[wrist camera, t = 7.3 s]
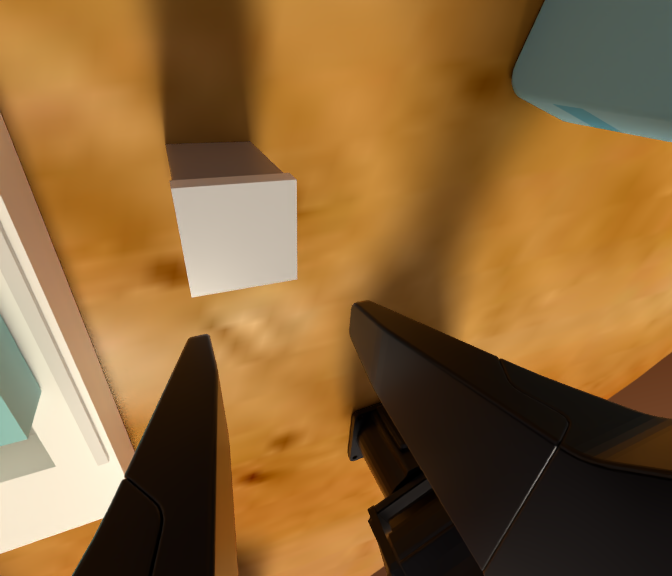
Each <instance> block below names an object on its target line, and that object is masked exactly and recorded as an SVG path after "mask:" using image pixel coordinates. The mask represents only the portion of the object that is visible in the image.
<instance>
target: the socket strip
mask: <svg viewBox="0 0 672 576" xmlns="http://www.w3.org/2000/svg"><path fill="white" fill-rule="evenodd" d="M0 315H1V317H2V318H3V320H4V322H5V324H6V326H7V328H8V330H9V331H10V333H11V335H12V337H13V339H14V341H15V343H16V344H17V346H18V348H19V350H20V352H21V354H22V356H23V357H24V359H25V361H26V363H27V365H28V367H29V369H30V371H31V372H32V374H33V376H34V378H35V380H36V382H37V384H38V385H39V387H40V389H41V391H42V392H41V395H40V399H39V402H38V406H37V409H36V413H35V416H34V419H33V423H32V426H31V430H30V433H29V437H28V439H26V440H22V441H19V442H15V443H11V444H7V445H3V446H0V554H1V553H4V552H7V551H10V550H12V549H15V548H18V547H21V546H24V545H27V544H30V543H33V542H35V541H38V540H41V539H44V538H47V537H50V536H53V535H56V534H59V533H61V532H64V531H67V530H70V529H73V528H76V527H79V526H82V525H85V524H87V523H90V522H93V521H96V520H99V519H102V518H104V516H105V514H106V512H107V510H108V508H109V506H110V504H111V502H112V500H113V498H114V495H115V493H116V491H117V489H118V487H119V485H120V483H121V481H122V480H123V479H125V478H124V475H125V472H126V470H127V468H128V466H129V464H130V462H131V460H132V458H133V455H134V453H135V452H134V449H133V447H132V444H131V442H130V439H129V437H128V434H127V431H126V429H125V426H124V424H123V421H122V419H121V416H120V414H119V411H118V409H117V406H116V404H115V401H114V399H113V396H112V393H111V391H110V388H109V386H108V383H107V381H106V378H105V376H104V373H103V371H102V368H101V366H100V363H99V361H98V358H97V356H96V353H95V350H94V348H93V345H92V343H91V340H90V338H89V335H88V333H87V330H86V328H85V325H84V323H83V320H82V318H81V315H80V312H79V310H78V307H77V305H76V302H75V300H74V297H73V295H72V292H71V290H70V287H69V285H68V282H67V280H66V277H65V274H64V272H63V269H62V267H61V264H60V262H59V259H58V257H57V254H56V252H55V249H54V247H53V244H52V242H51V239H50V236H49V234H48V231H47V229H46V226H45V224H44V221H43V219H42V216H41V214H40V211H39V209H38V206H37V204H36V201H35V198H34V196H33V193H32V191H31V188H30V186H29V183H28V181H27V178H26V176H25V173H24V171H23V168H22V166H21V163H20V161H19V158H18V155H17V153H16V150H15V148H14V145H13V143H12V140H11V138H10V135H9V133H8V130H7V128H6V125H5V123H4V120H3V117H2V115H1V112H0Z"/></svg>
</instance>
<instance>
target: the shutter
mask: <svg viewBox="0 0 672 576" xmlns="http://www.w3.org/2000/svg"><path fill="white" fill-rule="evenodd" d="M41 392H42V391H41V389H40V387H39V385H38V384H37V382H36V380H35V378H34V376H33V374H32V372H31V371H30V369H29V367H28V365H27V363H26V361H25V359H24V357H23V356H22V354H21V352H20V350H19V348H18V346H17V344H16V343H15V341H14V339H13V337H12V335H11V333H10V331H9V330H8V328H7V326H6V324H5V322H4V320H3V318H2V317H1V315H0V446H3V445H7V444H11V443H15V442H19V441H22V440H26V439H28V437H29V433H30V430H31V426H32V423H33V419H34V416H35V413H36V409H37V406H38V402H39V399H40V395H41Z"/></svg>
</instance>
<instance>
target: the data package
mask: <svg viewBox="0 0 672 576" xmlns="http://www.w3.org/2000/svg"><path fill="white" fill-rule="evenodd" d="M512 87H513V90H514V92H515V94H516V95H517V96H518V97H520V98H521V99H523V100H525V101H527V102H529V103H531V104H533V105H534V106H536V107H538V108H540V109H542V110H544V111H546V112H547V113H549V114H551V115H553V116H555V117H557V118H559V119H560V120H562V121H565V122H570V123H575V124H580V125H585V126H591V127H596V128H601V129H606V130H611V131H616V132H622V133H627V134H632V135H637V136H642V137H647V138H653V139H658V140H663V141H668V142H672V0H545V1H544V3H543V6H542V8H541V10H540V12H539V14H538V16H537V18H536V21H535V23H534V25H533V27H532V29H531V31H530V34H529V36H528V38H527V40H526V42H525V44H524V47H523V49H522V51H521V53H520V55H519V57H518V60H517V62H516V64H515V67H514V70H513V74H512Z"/></svg>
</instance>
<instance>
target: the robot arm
mask: <svg viewBox="0 0 672 576" xmlns="http://www.w3.org/2000/svg"><path fill="white" fill-rule="evenodd" d="M349 332H350V337H351V340H352V342H353V344H354V347H355V349H356V351H357V353H358V355H359V358H360V360H361V362H362V364H363V367H364V369H365V371H366V373H367V376H368V378H369V380H370V382H371V384H372V386H373V388H374V390H375V392H376V394H377V396H378V397H379V399H380V401H381V402H382V403H380V404H377V405H374V406H371V407H367V408H364V409H361V410H358V411H356V412H355V413H354V414H353V417H352V426H351V435H350V444H349V452H348V457H349V459H350V461H355V460H358V459H360V458H363V457H364V459H365V461H366V463H367V465H368V467H369V469H370V470H371V472H372V474H373V476H374V478H375V480H376V482H377V484H378V486H379V487H380V489H381V491H382V493H383V495H384V497H385V499H384V500H382V501H381V502H379V503H378V504H377V505H375V506H374V505H373V506H371V507H370V508H369V509H368V512H369V515H370V519H369V520H368V522H369V524H370V527H371V529H372V531H373V533H374V535H375V537H376V540H377V542H378V545H379V548H380V552H381V555H382V559H383V562H384V566H385V569H386V572H387V576H672V419H669V418H663V417H657V416H652V415H649V414H645V413H642V412H638V411H636V410H633V409H630V408H627V407H625V406H622V405H619V404H616V403H614V402H611V401H608V400H606V399H603V398H600V397H597V396H595V395H592V394H589V393H587V392H584V391H581V390H578V389H576V388H573V387H570V386H568V385H565V384H562V383H560V382H557V381H554V380H552V379H549V378H547V377H544V376H541V375H539V374H537V373H534V372H532V371H529V370H527V369H525V368H522V367H520V366H518V365H515V364H513V363H511V362H508V361H506V360H504V359H499V358H498V357H497V356H495V355H492V354H490V353H488V352H486V351H483V350H481V349H479V348H476V347H474V346H472V345H470V344H467V343H465V342H463V341H460V340H458V339H456V338H454V337H451V336H449V335H447V334H445V333H442V332H440V331H438V330H435V329H433V328H431V327H429V326H426V325H424V324H422V323H419V322H417V321H415V320H413V319H410V318H408V317H406V316H403V315H401V314H399V313H397V312H394V311H392V310H390V309H388V308H385V307H383V306H381V305H378V304H376V303H374V302H372V301H369V300H365V301H361V302H356V303H354V304H353V305H352V307H351V316H350V327H349ZM124 478H125V479H123V480H122V481H121V483H120V485H119V487H118V489H117V491H116V493H115V495H114V498H113V500H112V502H111V504H110V506H109V508H108V510H107V512H106V514H105V516H104V518H103V520H102V522H101V524H100V526H99V528H98V530H97V532H96V534H95V536H94V537H93V539H92V541H91V543H90V545H89V546H88V548H87V550H86V552H85V553H84V555H83V557H82V559H81V560H80V562H79V564H78V566H77V567H76V569H75V571H74V573H73V574H72V576H238V562H237V548H236V533H235V518H234V504H233V489H232V474H231V459H230V445H229V435H228V429H227V423H226V417H225V411H224V405H223V399H222V393H221V387H220V381H219V375H218V369H217V364H216V360H215V355H214V351H213V347H212V343H211V339H210V336H209V335H208V334H204V335H199V336H194V337H190V338H189V339H188V341H187V342H186V345H185V347H184V349H183V351H182V353H181V355H180V357H179V360H178V362H177V364H176V366H175V368H174V370H173V372H172V374H171V377H170V379H169V381H168V383H167V385H166V387H165V389H164V391H163V394H162V396H161V398H160V400H159V402H158V404H157V406H156V409H155V411H154V413H153V415H152V417H151V419H150V421H149V423H148V426H147V428H146V430H145V432H144V434H143V436H142V438H141V440H140V443H139V445H138V447H137V449H136V451H135V453H134V455H133V458H132V460H131V462H130V464H129V466H128V468H127V470H126V472H125V475H124Z"/></svg>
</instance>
